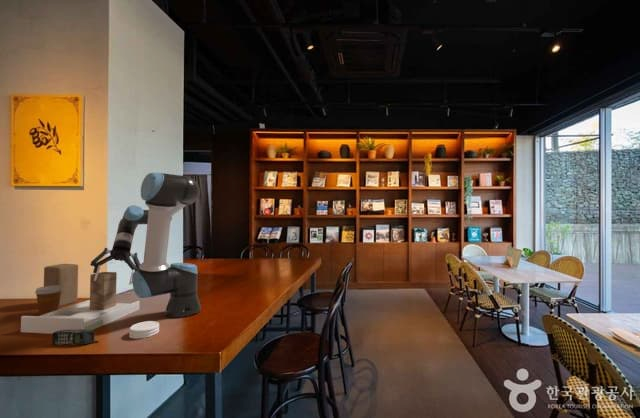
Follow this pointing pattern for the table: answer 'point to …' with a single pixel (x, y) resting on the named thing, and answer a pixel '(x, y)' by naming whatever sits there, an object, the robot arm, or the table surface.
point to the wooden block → (63, 281)
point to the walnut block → (103, 291)
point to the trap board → (76, 318)
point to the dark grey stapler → (73, 337)
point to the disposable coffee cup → (48, 298)
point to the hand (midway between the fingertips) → (113, 281)
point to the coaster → (144, 329)
